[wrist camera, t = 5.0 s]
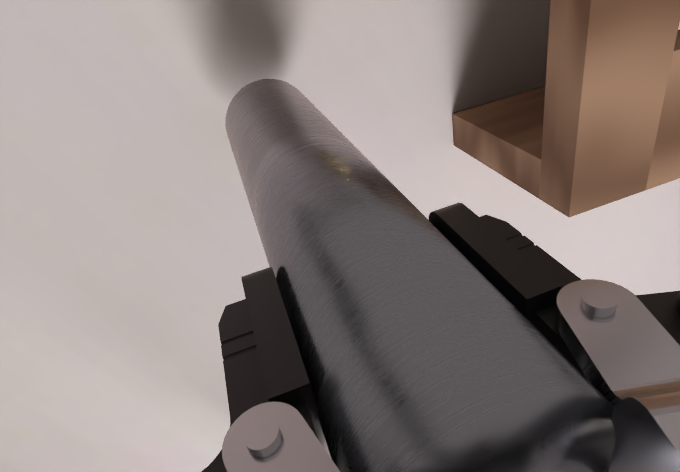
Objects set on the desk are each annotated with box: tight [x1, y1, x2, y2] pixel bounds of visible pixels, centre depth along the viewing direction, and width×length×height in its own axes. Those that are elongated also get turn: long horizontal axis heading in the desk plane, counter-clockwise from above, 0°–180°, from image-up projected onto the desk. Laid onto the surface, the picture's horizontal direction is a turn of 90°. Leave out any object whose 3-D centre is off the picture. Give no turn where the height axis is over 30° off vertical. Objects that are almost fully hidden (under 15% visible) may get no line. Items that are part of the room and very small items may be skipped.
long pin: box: [226, 79, 616, 472], centre depth 14 cm, size 4×4×18 cm
